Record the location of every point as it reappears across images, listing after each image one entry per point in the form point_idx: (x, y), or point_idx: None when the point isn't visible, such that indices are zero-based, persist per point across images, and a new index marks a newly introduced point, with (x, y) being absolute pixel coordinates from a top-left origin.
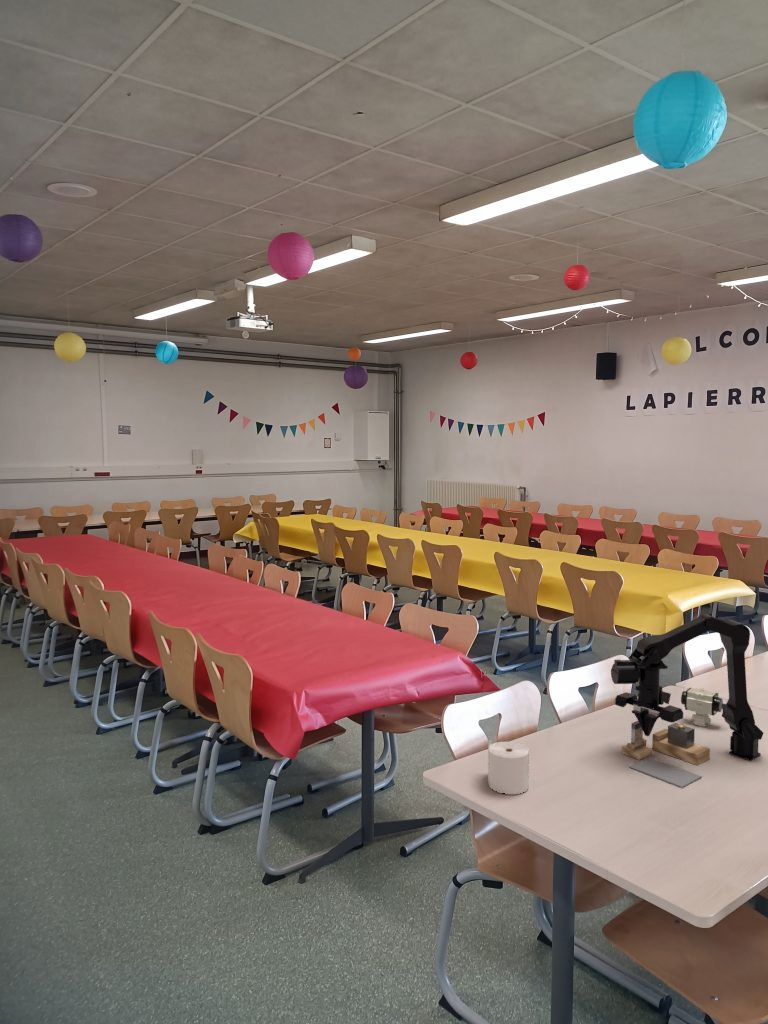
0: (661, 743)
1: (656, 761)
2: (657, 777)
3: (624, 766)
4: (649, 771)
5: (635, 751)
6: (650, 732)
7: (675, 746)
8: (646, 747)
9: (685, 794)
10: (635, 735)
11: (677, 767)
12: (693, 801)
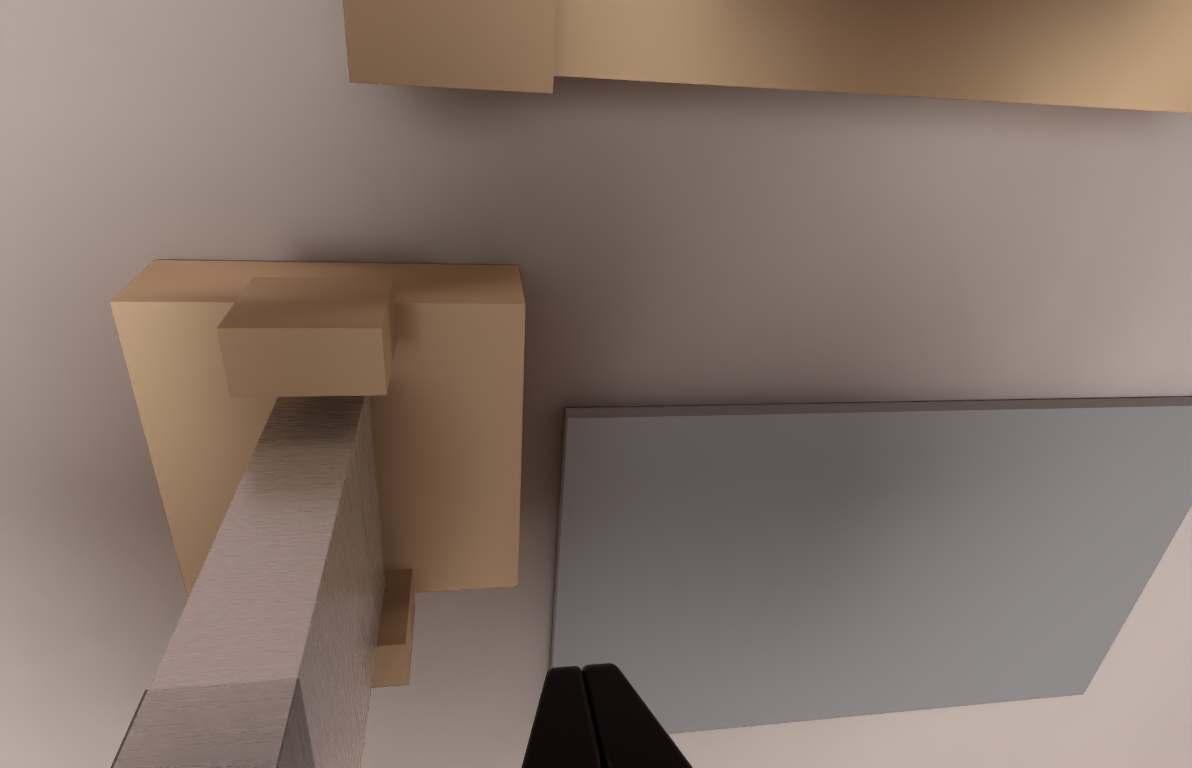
0: (615, 77)
1: (711, 460)
2: (862, 714)
3: (500, 739)
4: (758, 688)
5: (427, 574)
6: (656, 733)
7: (933, 50)
8: (441, 339)
9: (1107, 727)
10: (357, 761)
11: (976, 414)
12: (1167, 755)
